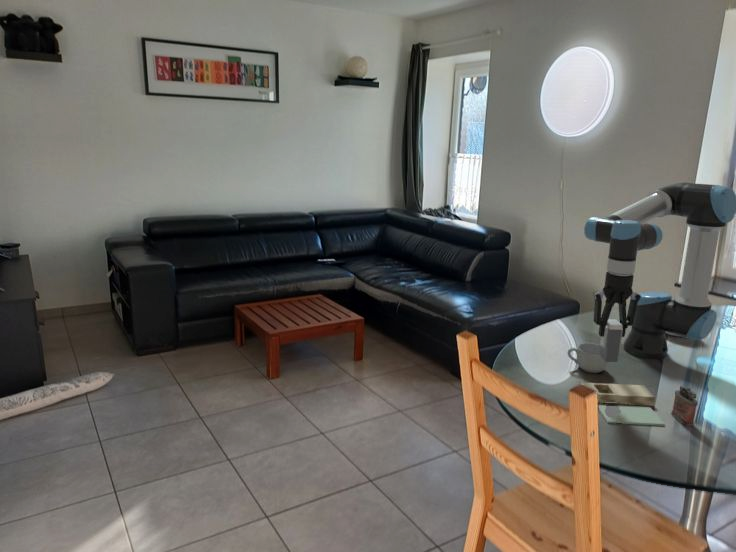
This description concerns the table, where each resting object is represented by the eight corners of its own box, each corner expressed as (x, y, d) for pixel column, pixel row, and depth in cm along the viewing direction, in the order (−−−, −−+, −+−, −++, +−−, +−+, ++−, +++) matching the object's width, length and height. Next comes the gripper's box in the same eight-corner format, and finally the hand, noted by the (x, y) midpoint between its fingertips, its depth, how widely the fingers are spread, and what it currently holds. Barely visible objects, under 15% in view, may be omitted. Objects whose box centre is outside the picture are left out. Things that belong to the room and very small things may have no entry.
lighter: (668, 413, 164) (673, 382, 162) (678, 412, 165) (684, 382, 162) (685, 427, 157) (691, 395, 154) (696, 426, 157) (702, 395, 154)
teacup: (606, 365, 197) (609, 345, 195) (608, 378, 187) (611, 356, 185) (565, 360, 202) (568, 339, 199) (565, 371, 192) (568, 350, 190)
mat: (649, 408, 167) (649, 406, 167) (664, 425, 157) (664, 423, 157) (595, 406, 168) (596, 404, 168) (607, 423, 158) (607, 421, 158)
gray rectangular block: (611, 355, 172) (616, 319, 169) (617, 362, 167) (622, 325, 164) (599, 355, 172) (604, 319, 169) (605, 361, 168) (610, 324, 164)
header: (642, 393, 176) (643, 385, 176) (653, 405, 169) (654, 397, 168) (579, 390, 177) (580, 382, 177) (587, 402, 170) (588, 393, 169)
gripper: (643, 270, 166) (632, 342, 172) (587, 268, 167) (578, 340, 173) (654, 276, 159) (642, 351, 165) (595, 275, 159) (586, 350, 166)
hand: (610, 346), depth 169 cm, fingers closed on gray rectangular block, 4 cm apart
